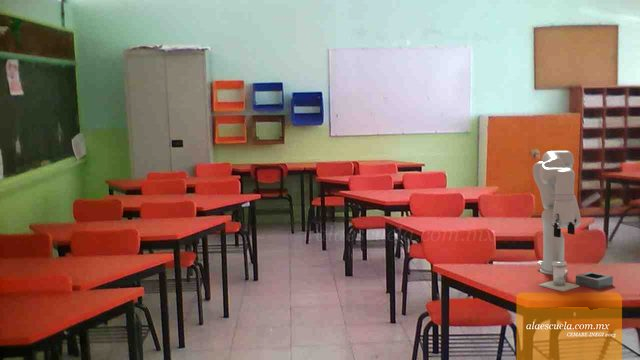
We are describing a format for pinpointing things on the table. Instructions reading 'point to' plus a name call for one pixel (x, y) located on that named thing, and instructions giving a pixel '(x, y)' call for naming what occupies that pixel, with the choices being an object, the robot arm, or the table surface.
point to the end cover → (559, 272)
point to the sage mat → (560, 288)
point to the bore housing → (594, 280)
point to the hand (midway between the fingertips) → (564, 235)
